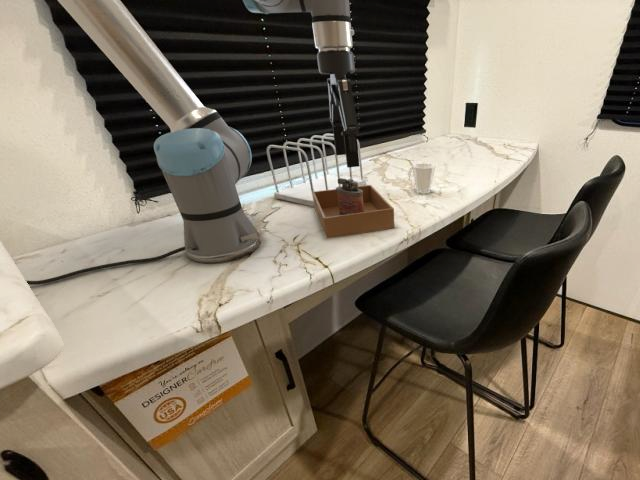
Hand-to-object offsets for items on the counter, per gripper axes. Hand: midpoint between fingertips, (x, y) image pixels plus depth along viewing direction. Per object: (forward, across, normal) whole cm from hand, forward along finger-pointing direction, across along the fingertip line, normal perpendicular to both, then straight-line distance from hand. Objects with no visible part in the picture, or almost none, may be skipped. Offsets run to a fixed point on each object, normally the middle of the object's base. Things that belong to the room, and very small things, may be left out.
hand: (347, 160), depth 79 cm
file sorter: (+15, +26, +4) cm, 30 cm away
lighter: (+15, 0, 0) cm, 15 cm away
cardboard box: (+15, 0, 0) cm, 15 cm away
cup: (+15, +15, -26) cm, 33 cm away
